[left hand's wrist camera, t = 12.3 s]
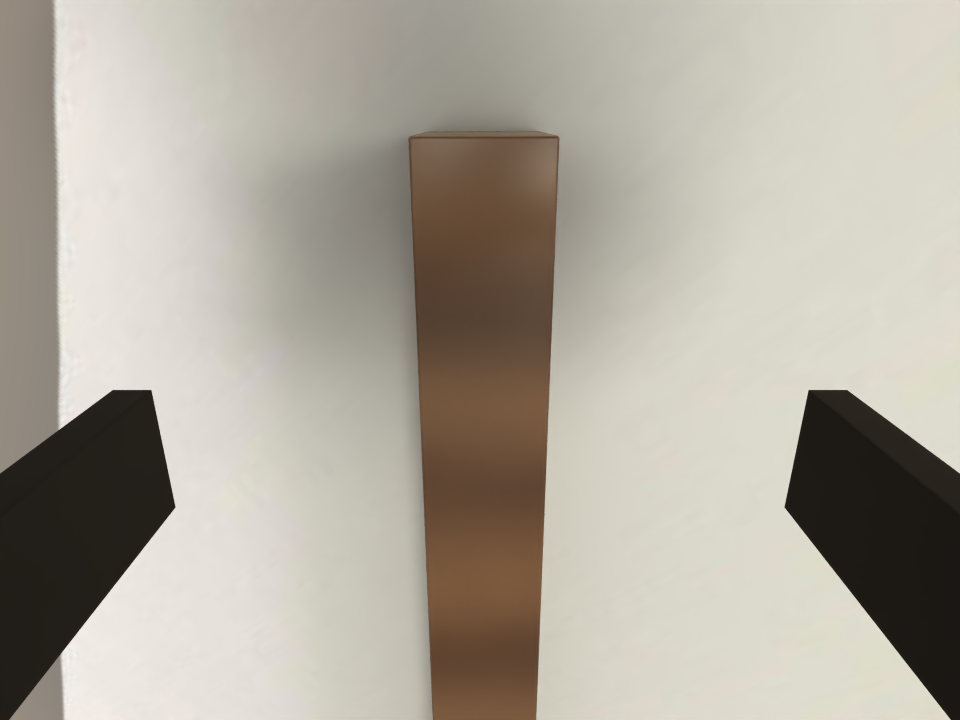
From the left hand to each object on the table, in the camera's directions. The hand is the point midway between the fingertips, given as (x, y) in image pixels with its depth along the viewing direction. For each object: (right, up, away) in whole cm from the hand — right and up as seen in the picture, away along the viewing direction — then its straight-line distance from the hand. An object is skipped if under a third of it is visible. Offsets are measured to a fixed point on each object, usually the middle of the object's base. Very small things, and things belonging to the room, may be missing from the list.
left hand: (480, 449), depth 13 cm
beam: (0, -10, +27) cm, 29 cm away
